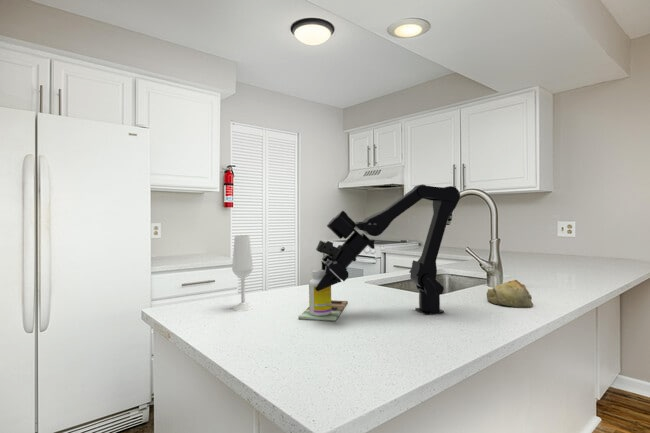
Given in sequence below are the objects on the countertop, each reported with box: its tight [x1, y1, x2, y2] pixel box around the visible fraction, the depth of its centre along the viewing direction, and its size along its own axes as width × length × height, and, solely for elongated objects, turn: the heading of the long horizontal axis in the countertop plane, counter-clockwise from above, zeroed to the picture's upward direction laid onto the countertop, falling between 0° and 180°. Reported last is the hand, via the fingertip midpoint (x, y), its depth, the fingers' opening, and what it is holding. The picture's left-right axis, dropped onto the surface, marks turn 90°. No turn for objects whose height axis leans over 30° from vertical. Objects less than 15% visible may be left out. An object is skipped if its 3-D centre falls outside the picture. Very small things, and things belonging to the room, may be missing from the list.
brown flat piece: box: [298, 299, 349, 322], centre depth 117 cm, size 22×11×1 cm, turn 167°
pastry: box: [486, 279, 534, 309], centre depth 123 cm, size 14×12×8 cm
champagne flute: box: [231, 234, 254, 312], centre depth 122 cm, size 7×7×24 cm
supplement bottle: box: [308, 269, 332, 316], centre depth 111 cm, size 7×7×13 cm
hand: (315, 287), depth 110 cm, fingers open, 8 cm apart
